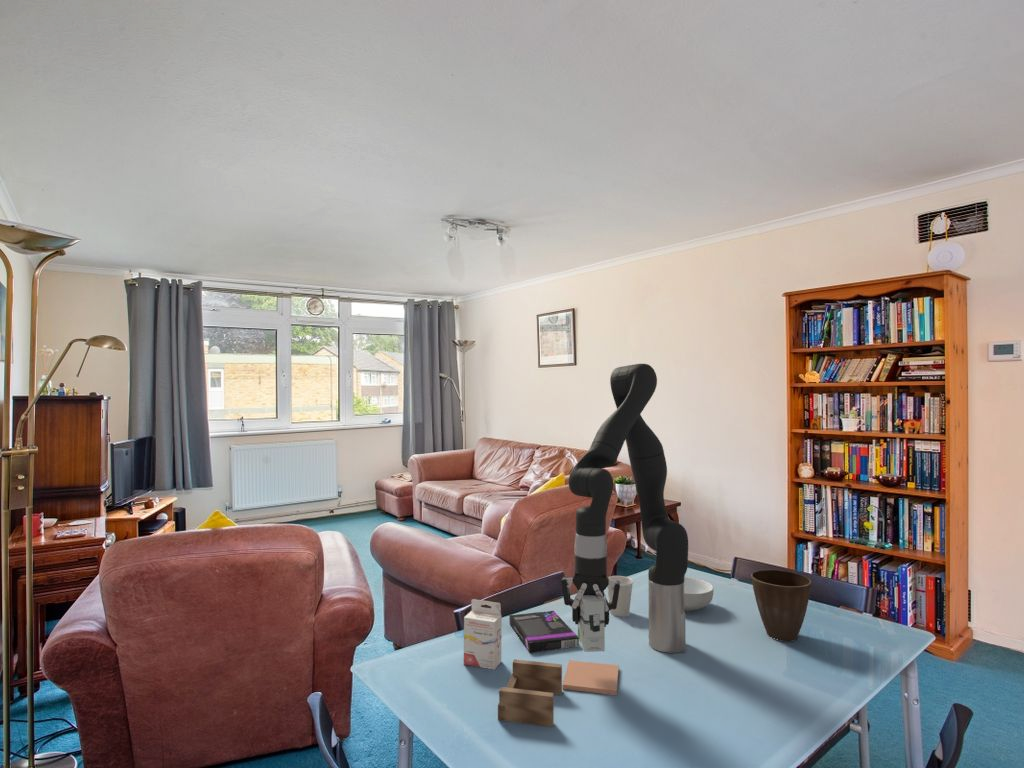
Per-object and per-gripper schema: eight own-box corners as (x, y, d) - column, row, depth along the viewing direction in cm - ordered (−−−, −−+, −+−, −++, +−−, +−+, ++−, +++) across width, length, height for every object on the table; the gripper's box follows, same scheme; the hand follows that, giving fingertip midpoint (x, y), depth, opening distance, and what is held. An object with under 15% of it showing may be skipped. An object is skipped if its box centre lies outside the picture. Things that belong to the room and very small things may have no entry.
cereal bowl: (721, 617, 169) (721, 593, 169) (665, 617, 169) (665, 593, 169) (703, 596, 186) (703, 575, 186) (652, 596, 186) (652, 575, 186)
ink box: (576, 636, 137) (577, 587, 137) (597, 635, 137) (597, 586, 137) (583, 652, 128) (584, 599, 128) (605, 652, 129) (605, 599, 129)
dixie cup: (612, 605, 178) (612, 573, 178) (637, 611, 173) (637, 578, 173) (600, 614, 171) (600, 581, 172) (626, 620, 166) (626, 586, 167)
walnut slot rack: (561, 691, 127) (561, 664, 127) (552, 727, 113) (552, 696, 113) (512, 685, 129) (512, 659, 130) (497, 720, 116) (497, 690, 116)
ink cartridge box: (462, 665, 139) (462, 605, 140) (470, 656, 144) (470, 598, 144) (495, 670, 137) (495, 609, 137) (502, 661, 141) (502, 602, 142)
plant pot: (752, 642, 152) (751, 582, 152) (751, 621, 165) (750, 566, 166) (814, 651, 146) (814, 589, 146) (808, 629, 160) (807, 572, 160)
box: (578, 650, 149) (554, 620, 168) (579, 637, 149) (554, 608, 168) (528, 656, 146) (508, 624, 165) (528, 642, 146) (509, 612, 165)
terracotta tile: (618, 669, 137) (618, 665, 137) (616, 695, 125) (616, 690, 125) (569, 664, 140) (569, 660, 140) (562, 689, 128) (562, 684, 128)
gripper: (622, 550, 135) (622, 621, 135) (562, 546, 138) (562, 615, 138) (621, 559, 128) (621, 634, 128) (558, 554, 131) (557, 628, 131)
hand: (590, 624), depth 133 cm, fingers closed on ink box, 5 cm apart
